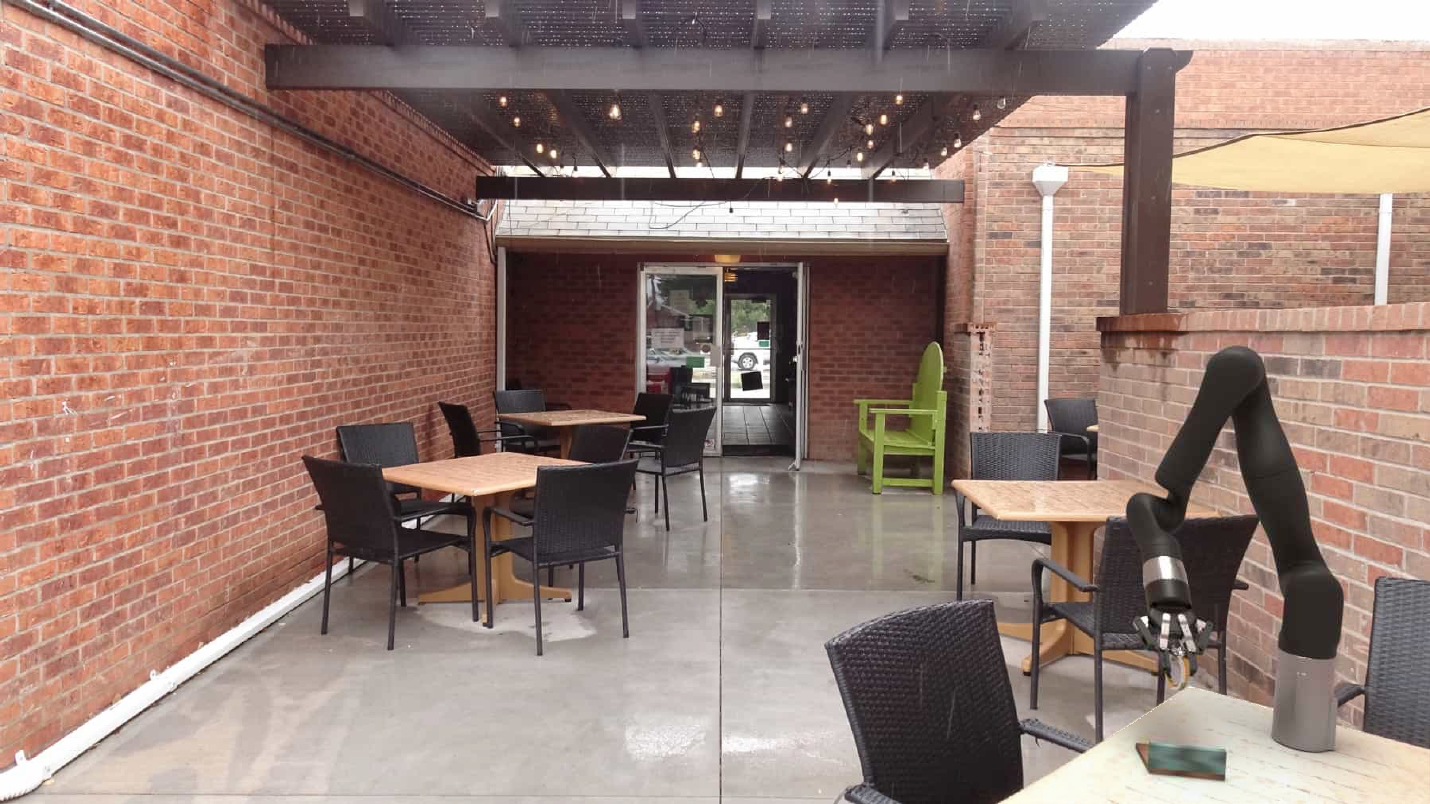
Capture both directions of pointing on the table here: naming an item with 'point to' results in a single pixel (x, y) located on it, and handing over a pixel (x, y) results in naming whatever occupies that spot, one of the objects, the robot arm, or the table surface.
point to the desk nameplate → (1183, 760)
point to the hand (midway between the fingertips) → (1180, 673)
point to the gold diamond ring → (1184, 668)
